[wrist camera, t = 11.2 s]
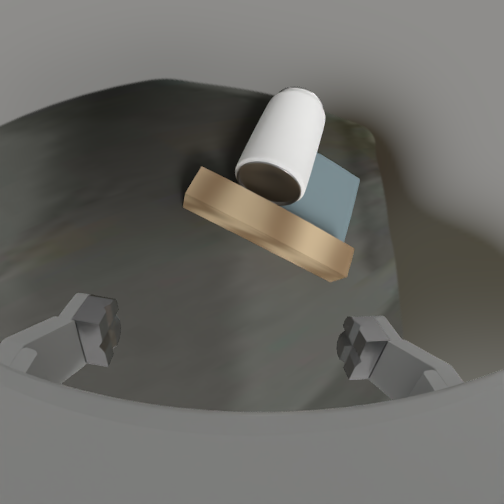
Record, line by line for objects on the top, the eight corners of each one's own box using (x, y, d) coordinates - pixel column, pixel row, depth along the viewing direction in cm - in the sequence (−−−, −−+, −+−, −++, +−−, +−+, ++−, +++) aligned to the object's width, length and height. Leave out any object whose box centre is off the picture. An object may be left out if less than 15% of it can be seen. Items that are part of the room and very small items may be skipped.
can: (235, 150, 22) (276, 75, 26) (230, 193, 28) (267, 117, 32) (314, 178, 22) (335, 96, 26) (294, 215, 28) (318, 135, 32)
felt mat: (236, 196, 28) (237, 194, 27) (271, 129, 31) (273, 127, 31) (339, 251, 30) (341, 250, 29) (358, 180, 33) (359, 179, 33)
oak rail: (182, 207, 26) (185, 193, 23) (197, 182, 27) (201, 166, 24) (330, 282, 28) (346, 277, 26) (338, 256, 29) (354, 248, 27)
